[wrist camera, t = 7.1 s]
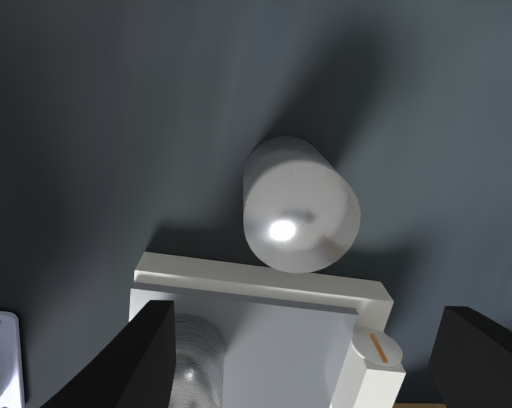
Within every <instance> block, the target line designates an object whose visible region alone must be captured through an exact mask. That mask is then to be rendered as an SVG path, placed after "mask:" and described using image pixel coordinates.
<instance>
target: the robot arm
mask: <svg viewBox="0 0 512 408" xmlns="http://www.w3.org/2000/svg"><path fill="white" fill-rule="evenodd" d="M0 320H1V321H0V408H25V401H24V388H23V375H22V361H21V348H20V335H19V322H18V317H17V316H16V315H15V314H13V313H11V312H4V311H0ZM428 366H429V369H430V371H431V374H432V376H433V378H434V381H435V383H436V386H437V388H438V390H439V393H440V395H441V397H442V399H443V401H444V404H445V405H446V407H447V408H512V332H511V331H510V330H508V329H506V328H505V327H503V326H501V325H500V324H498V323H496V322H494V321H493V320H491V319H489V318H488V317H486V316H484V315H482V314H481V313H479V312H477V311H475V310H473V309H471V308H469V307H462V306H445V308H444V312H443V315H442V319H441V322H440V326H439V329H438V333H437V336H436V340H435V343H434V347H433V350H432V354H431V357H430V361H429V365H428ZM175 368H176V338H175V312H174V300H150V301H148V302H147V303H146V304H145V305H144V306H143V307H142V309H141V310H140V311H139V312H138V313H137V314H136V315H135V316H134V317H133V318H132V320H131V321H130V322H129V323H128V324H127V325H126V326H125V327H124V328H123V329H122V330H121V331H120V333H119V334H118V335H117V336H116V337H115V338H114V339H113V340H112V341H111V342H110V343H109V344H108V345H107V346H106V347H105V348H104V349H103V350H102V351H101V352H100V353H99V354H98V355H97V356H96V357H95V358H94V359H93V360H92V361H91V362H90V363H89V364H88V365H87V366H86V367H85V368H84V369H82V370H81V371H80V372H79V373H78V374H77V375H76V376H75V377H74V378H73V379H72V380H71V381H69V382H68V383H67V384H66V385H65V386H64V387H63V388H62V389H61V390H60V391H59V392H57V393H56V394H55V395H54V396H53V397H52V398H51V399H49V400H48V401H47V402H46V403H45V404H44V405H42V406H41V407H40V408H168V406H169V402H170V397H171V391H172V386H173V380H174V374H175Z"/></svg>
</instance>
